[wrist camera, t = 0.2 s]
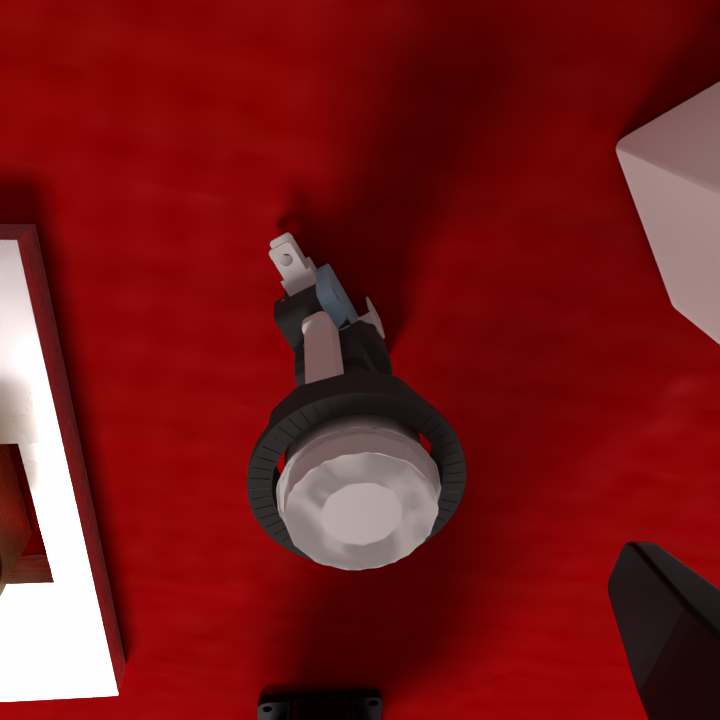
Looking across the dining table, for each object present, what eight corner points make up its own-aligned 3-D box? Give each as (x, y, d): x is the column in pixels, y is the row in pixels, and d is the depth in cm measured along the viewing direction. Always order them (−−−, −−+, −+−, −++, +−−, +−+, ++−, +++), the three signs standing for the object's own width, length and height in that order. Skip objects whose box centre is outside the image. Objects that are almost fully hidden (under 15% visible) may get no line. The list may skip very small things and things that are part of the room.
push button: (213, 266, 22) (160, 440, 13) (351, 192, 21) (391, 326, 12) (308, 407, 25) (315, 623, 16) (432, 348, 24) (509, 542, 16)
